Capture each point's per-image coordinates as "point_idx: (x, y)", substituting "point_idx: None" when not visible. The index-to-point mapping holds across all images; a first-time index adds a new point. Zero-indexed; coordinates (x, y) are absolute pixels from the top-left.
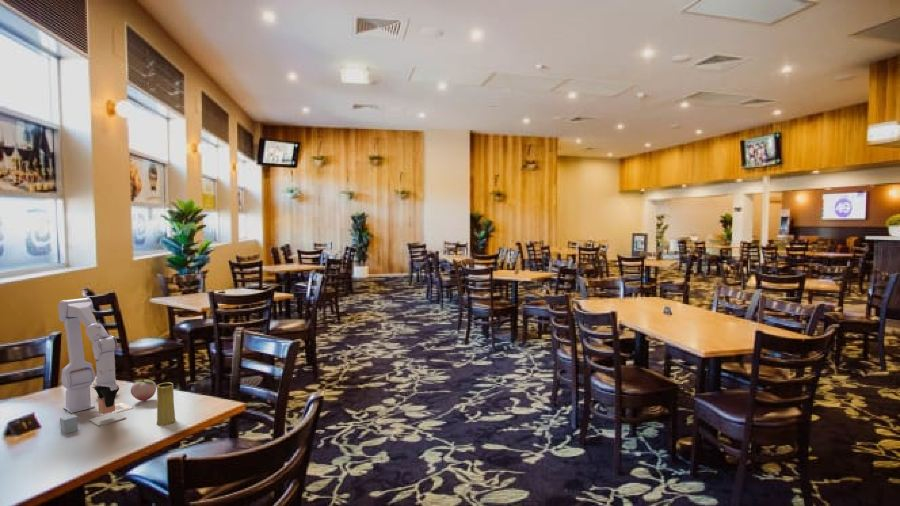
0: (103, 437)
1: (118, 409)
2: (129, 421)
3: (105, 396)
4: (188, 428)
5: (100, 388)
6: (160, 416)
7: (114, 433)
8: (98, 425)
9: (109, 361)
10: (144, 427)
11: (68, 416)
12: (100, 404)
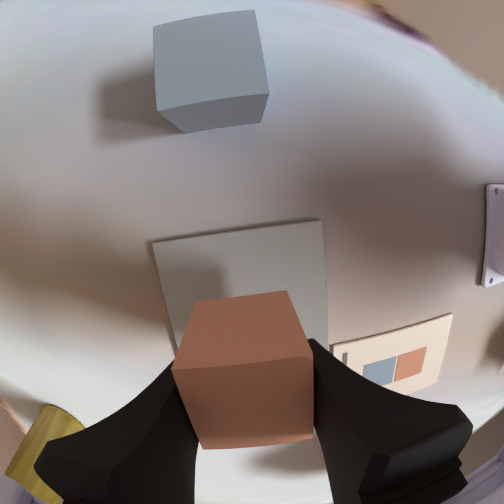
0: (10, 231)
1: (366, 372)
2: (138, 372)
3: (102, 424)
4: (12, 418)
5: (357, 477)
6: (33, 427)
7: (26, 278)
8: (154, 243)
9: None
10: (43, 374)
11: (224, 52)
12: (238, 334)
